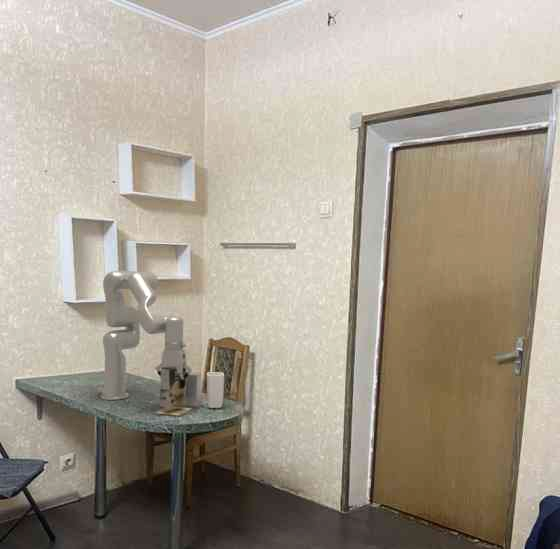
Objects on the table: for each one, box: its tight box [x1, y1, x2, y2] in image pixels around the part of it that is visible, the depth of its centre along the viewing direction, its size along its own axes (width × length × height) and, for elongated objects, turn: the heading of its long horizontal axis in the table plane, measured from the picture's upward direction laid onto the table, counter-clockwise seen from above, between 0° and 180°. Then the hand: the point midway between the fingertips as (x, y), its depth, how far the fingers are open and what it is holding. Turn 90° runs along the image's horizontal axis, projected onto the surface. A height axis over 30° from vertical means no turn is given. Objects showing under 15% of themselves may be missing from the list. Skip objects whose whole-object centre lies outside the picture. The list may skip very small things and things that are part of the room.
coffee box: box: [159, 368, 187, 408], centre depth 206 cm, size 9×6×16 cm
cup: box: [206, 371, 225, 409], centre depth 214 cm, size 7×7×15 cm
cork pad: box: [153, 407, 192, 417], centre depth 206 cm, size 12×11×1 cm
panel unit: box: [176, 372, 204, 410], centre depth 215 cm, size 12×6×14 cm, turn 75°
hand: (173, 387), depth 206 cm, fingers closed on coffee box, 7 cm apart
